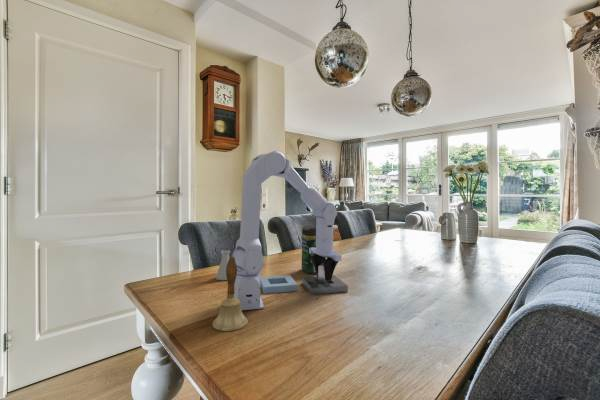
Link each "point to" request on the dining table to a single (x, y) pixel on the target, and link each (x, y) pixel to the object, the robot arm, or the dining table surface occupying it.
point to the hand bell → (230, 304)
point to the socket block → (324, 285)
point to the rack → (278, 284)
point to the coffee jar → (307, 243)
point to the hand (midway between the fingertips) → (324, 278)
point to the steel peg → (322, 275)
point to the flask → (223, 266)
